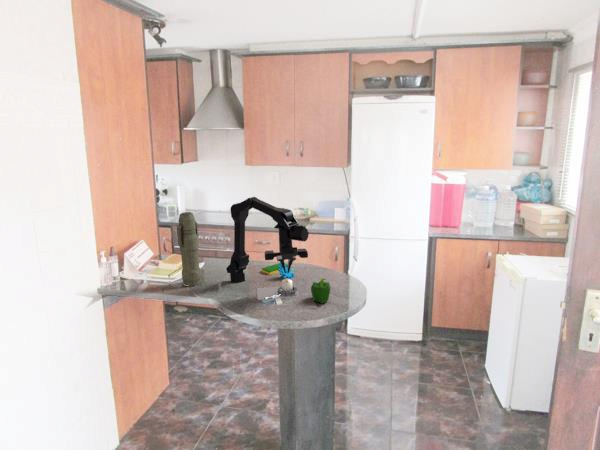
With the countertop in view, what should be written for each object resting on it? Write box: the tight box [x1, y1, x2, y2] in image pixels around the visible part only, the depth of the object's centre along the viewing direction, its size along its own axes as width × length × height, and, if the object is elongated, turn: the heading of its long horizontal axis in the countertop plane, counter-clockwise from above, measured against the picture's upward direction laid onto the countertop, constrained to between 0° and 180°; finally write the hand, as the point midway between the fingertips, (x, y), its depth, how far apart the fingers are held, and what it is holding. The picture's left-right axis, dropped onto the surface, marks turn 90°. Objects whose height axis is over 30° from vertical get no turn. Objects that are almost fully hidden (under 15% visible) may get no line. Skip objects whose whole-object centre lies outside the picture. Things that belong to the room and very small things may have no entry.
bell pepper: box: [310, 277, 331, 304], centre depth 181 cm, size 8×8×10 cm
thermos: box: [176, 211, 202, 287], centre depth 204 cm, size 9×12×35 cm
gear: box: [278, 264, 295, 280], centre depth 210 cm, size 11×6×10 cm
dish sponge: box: [261, 262, 288, 276], centre depth 224 cm, size 7×14×2 cm, turn 132°
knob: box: [281, 277, 293, 292], centre depth 190 cm, size 5×5×6 cm
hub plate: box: [256, 285, 300, 301], centre depth 190 cm, size 18×14×2 cm
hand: (286, 272), depth 189 cm, fingers closed
